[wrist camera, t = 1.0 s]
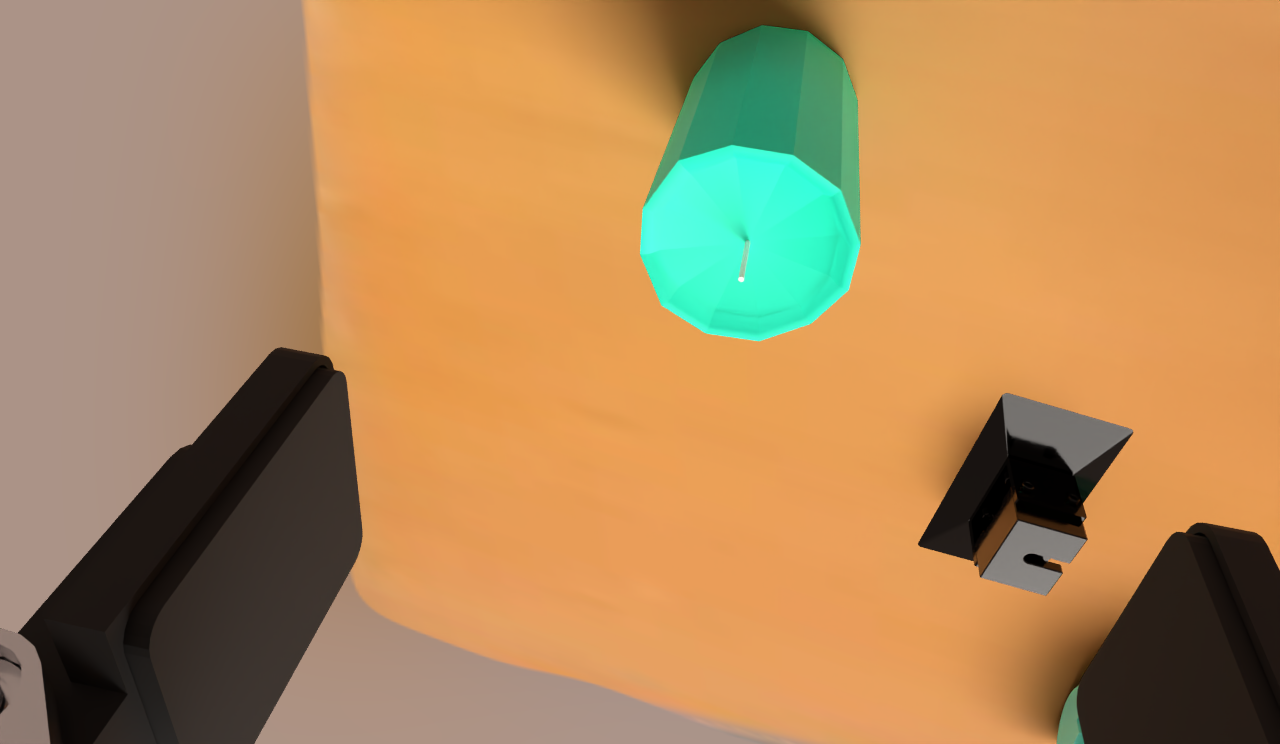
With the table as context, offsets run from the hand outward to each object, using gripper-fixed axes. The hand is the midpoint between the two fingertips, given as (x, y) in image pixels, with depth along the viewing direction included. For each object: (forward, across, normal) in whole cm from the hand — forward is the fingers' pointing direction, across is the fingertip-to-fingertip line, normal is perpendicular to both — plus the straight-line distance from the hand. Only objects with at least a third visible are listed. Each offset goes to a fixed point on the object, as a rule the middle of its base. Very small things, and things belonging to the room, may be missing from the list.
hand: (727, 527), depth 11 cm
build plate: (+26, -14, +20) cm, 35 cm away
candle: (+26, 0, +5) cm, 26 cm away
